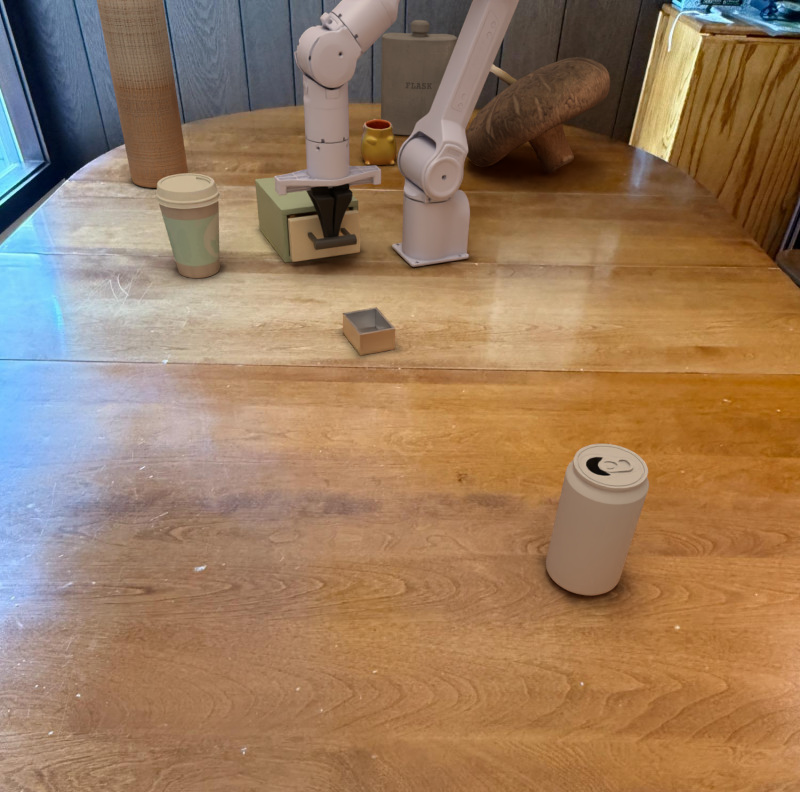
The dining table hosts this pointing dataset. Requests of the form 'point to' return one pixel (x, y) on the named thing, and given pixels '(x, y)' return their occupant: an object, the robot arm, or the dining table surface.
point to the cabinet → (282, 213)
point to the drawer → (321, 236)
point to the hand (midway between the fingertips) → (330, 240)
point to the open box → (368, 331)
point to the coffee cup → (191, 222)
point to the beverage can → (596, 518)
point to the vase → (144, 88)
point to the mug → (378, 143)
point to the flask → (412, 74)
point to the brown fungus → (537, 112)
